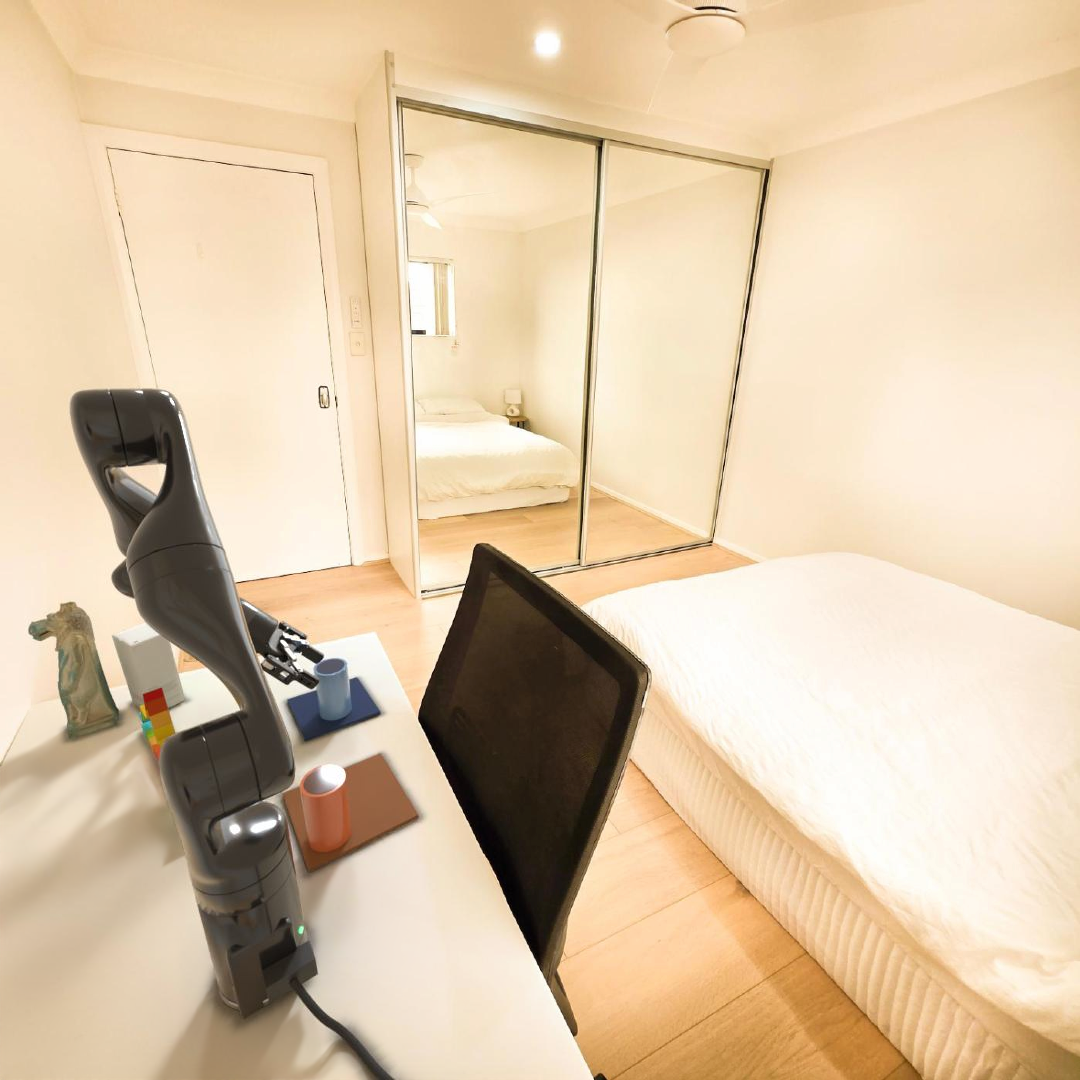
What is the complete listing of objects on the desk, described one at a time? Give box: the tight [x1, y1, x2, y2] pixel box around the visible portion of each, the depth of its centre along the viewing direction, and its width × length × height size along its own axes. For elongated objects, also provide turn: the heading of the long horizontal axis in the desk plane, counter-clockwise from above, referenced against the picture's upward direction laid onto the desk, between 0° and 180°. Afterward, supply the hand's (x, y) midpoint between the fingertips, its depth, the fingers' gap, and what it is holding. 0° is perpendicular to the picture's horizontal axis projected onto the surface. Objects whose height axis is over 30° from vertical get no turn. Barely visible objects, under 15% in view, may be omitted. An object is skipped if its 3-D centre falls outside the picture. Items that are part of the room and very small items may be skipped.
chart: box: [138, 687, 176, 764], centre depth 85 cm, size 30×3×15 cm, turn 47°
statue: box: [27, 601, 120, 740], centre depth 94 cm, size 7×8×25 cm
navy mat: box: [286, 676, 382, 742], centre depth 105 cm, size 14×14×1 cm
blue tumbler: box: [313, 657, 352, 720], centre depth 102 cm, size 6×6×10 cm
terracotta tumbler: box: [299, 764, 352, 852], centre depth 75 cm, size 6×6×10 cm
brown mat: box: [282, 752, 420, 873], centre depth 82 cm, size 16×16×1 cm
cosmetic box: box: [111, 622, 186, 709], centre depth 102 cm, size 8×7×16 cm
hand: (318, 671), depth 100 cm, fingers open, 8 cm apart
